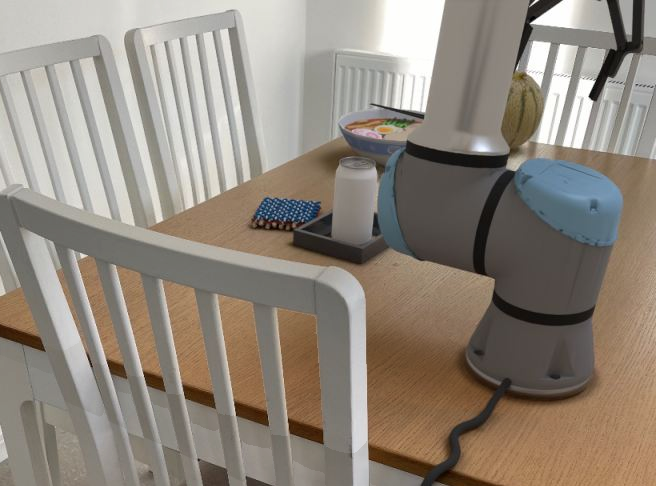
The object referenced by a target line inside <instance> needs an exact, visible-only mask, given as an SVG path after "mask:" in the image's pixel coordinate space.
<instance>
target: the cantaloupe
mask: <svg viewBox="0 0 656 486" xmlns="http://www.w3.org/2000/svg"><path fill="white" fill-rule="evenodd" d="M544 98H545V97H544V94H543V90H542V88H541V86H540V85H539V83H538V82H536V80H535V79H534V77H532V76H531V75H530V74H528V73H527V72H526V71H521V70H517V69H516V71H515V73H514V74H513V77H512V81H511V85H510V90H509V94H508V99H507V103H506V108H505V112H504V117H503V121H502V125H501V133H502V136H503V138H504V139H505V141H506V143H507V144H508V146H509V148H510V150H513V149H516V148H518V147H520V146H523V145H524V144H526V143H527V142H528V141H529V140H530V139H531V138H532V137H533V136H534V135H535V133H536V131H537V130H538V128H539V125H540V123H541V119H542V117H543V113H544V109H545V99H544Z"/></svg>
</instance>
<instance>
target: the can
mask: <svg viewBox="0 0 656 486" xmlns="http://www.w3.org/2000/svg"><path fill="white" fill-rule="evenodd" d="M338 164H339V165H338V166H337V168H336V170H335V175H334V189H333V190H334V191H333V203H332V204H333V205H332V209H333V218H332V233H331V238H333V239H336V240H340V241H344V242H347V243H351V244H354V245H358V246H362V245H364V244H365V243H367V242H369V241H370V240H372V227H373V217H374V212H375V206H376V197H377V196H376V195H377V186H378V185H377V183H378V170H377V168H376V166H377V165H376V162H375V161H373V160H371V159H369V158H364V157H362V156H348V157H343V158H341V159H339V161H338Z"/></svg>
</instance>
